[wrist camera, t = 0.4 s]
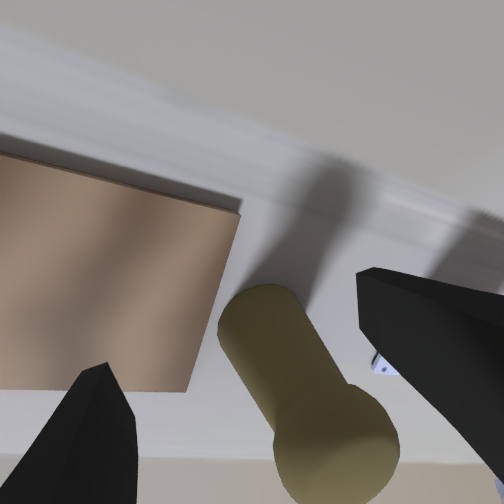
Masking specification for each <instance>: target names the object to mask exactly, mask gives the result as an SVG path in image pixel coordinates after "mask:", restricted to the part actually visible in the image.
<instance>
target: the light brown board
mask: <svg viewBox="0 0 504 504" xmlns="http://www.w3.org/2000/svg"><path fill="white" fill-rule="evenodd" d="M240 217H241V215H240V214H239V213H237V212H235V211H231V210H227V209H223V208H219V207H215V206H211V205H207V204H203V203H199V202H195V201H192V200H188V199H184V198H180V197H176V196H172V195H168V194H164V193H160V192H156V191H152V190H148V189H145V188H141V187H137V186H133V185H129V184H125V183H121V182H117V181H113V180H109V179H105V178H101V177H98V176H94V175H90V174H86V173H82V172H78V171H74V170H70V169H66V168H62V167H58V166H54V165H51V164H47V163H43V162H39V161H35V160H31V159H27V158H23V157H19V156H15V155H11V154H8V153H4V152H0V389H3V390H63V391H68V390H69V389H70V387H71V386H72V384H73V383H74V381H75V380H76V379H77V377H78V376H79V374H80V373H81V372H82V371H83V370H85V369H88V368H91V367H94V366H97V365H99V364H102V363H105V362H108V364H109V366H110V368H111V370H112V372H113V374H114V376H115V378H116V380H117V382H118V384H119V386H120V388H121V390H122V391H124V392H185V393H186V391H187V387H188V384H189V381H190V378H191V375H192V371H193V368H194V365H195V362H196V359H197V355H198V352H199V349H200V346H201V342H202V339H203V336H204V333H205V330H206V326H207V323H208V320H209V317H210V314H211V310H212V307H213V304H214V301H215V298H216V294H217V291H218V288H219V285H220V281H221V278H222V275H223V272H224V269H225V265H226V262H227V259H228V256H229V253H230V249H231V246H232V243H233V240H234V236H235V233H236V230H237V227H238V224H239V220H240Z"/></svg>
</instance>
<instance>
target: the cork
mask: <svg viewBox="0 0 504 504" xmlns="http://www.w3.org/2000/svg"><path fill="white" fill-rule="evenodd" d="M217 336H218V339H219V342H220V346H221V347H222V349H223V351H224V352H225V354H226V355H227V357H228V359H229V360H230V362H231V364H232V365H233V367H234V368H235V370H236V372H237V373H238V375H239V376H240V378H241V380H242V381H243V383H244V384H245V386H246V388H247V389H248V391H249V392H250V394H251V396H252V397H253V399H254V400H255V402H256V404H257V405H258V407H259V409H260V410H261V412H262V413H263V415H264V417H265V418H266V420H267V421H268V423H269V425H270V426H271V428H272V429H273V431H274V433H275V435H274V441H273V450H274V458H275V462H276V466H277V470H278V473H279V476H280V478H281V481H282V483H283V486H284V487H285V488H286V490H287V491H288V493H289V494H290V496H291V497H292V498H293V499H294V500H295V501H296V502H297V503H298V504H366V503H367V502H369V501H370V500H371V499H372V498H374V497H375V496H376V495H377V494H378V493H379V492H380V491H381V490H382V489H383V488H384V487H385V486H386V485H387V483H388V482H389V480H390V479H391V477H392V476H393V474H394V471H395V468H396V466H397V463H398V460H399V458H400V444H399V439H398V434H397V431H396V429H395V427H394V425H393V423H392V421H391V419H390V417H389V416H388V414H387V412H386V410H385V409H384V408H383V407H382V405H381V404H380V403H379V402H378V401H377V400H376V399H375V398H374V397H372V396H371V395H369V394H368V393H367V392H365V391H364V390H362V389H360V388H359V387H357V386H356V385H352V384H347V382H346V380H345V379H344V377H343V375H342V373H341V372H340V370H339V368H338V367H337V365H336V363H335V362H334V360H333V358H332V357H331V355H330V353H329V352H328V350H327V348H326V347H325V345H324V343H323V342H322V340H321V338H320V336H319V335H318V333H317V331H316V330H315V328H314V326H313V325H312V323H311V321H310V320H309V318H308V316H307V315H306V313H305V311H304V310H303V308H302V306H301V304H300V303H299V301H298V299H297V298H296V296H295V295H294V294H293V293H292V292H290V291H289V290H288V289H286V288H284V287H281V286H277V285H274V284H271V285H258V286H256V287H253V288H250V289H247V290H245V291H243V292H242V293H241V294H239V295H238V296H236V297H235V298H233V299H232V301H231V302H230V303H229V304H228V305H227V307H226V308H225V309H224V310H223V313H222V315H221V317H220V320H219V322H218V332H217Z"/></svg>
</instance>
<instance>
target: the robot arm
mask: <svg viewBox="0 0 504 504" xmlns="http://www.w3.org/2000/svg"><path fill="white" fill-rule="evenodd" d="M356 284H357V299H358V314H359V328H360V330H361V331H362V332H363V334H364V335H365V336H366V337H367V339H368V340H369V341H370V343H371V344H372V345H373V346H374V348H375V349H376V350H377V351H378V352H379V353H378V355H377V357H376V359H375V362H374V364H373V366H372V370H373V371H374V372H375V373H376V374H391V375H401V376H402V377H403V378H404V379H406V380H407V381H408V382H409V383H410V384H411V385H412V386H413V387H414V388H415V389H416V390H417V391H418V392H419V393H420V394H421V395H422V396H423V397H424V398H425V399H426V400H427V401H428V402H429V403H430V404H431V405H432V406H433V407H435V408H436V409H437V410H438V411H439V412H440V413H441V414H442V415H443V416H444V417H445V418H446V419H447V420H448V421H449V422H450V424H451V425H452V426H453V427H454V428H455V429H456V430H457V431H458V432H459V433H460V434H461V435H462V437H463V438H464V439H465V440H466V441H467V442H468V443H469V445H470V446H471V447H472V448H473V449H474V450H475V451H476V453H477V454H478V455H479V456H480V457H481V458H482V460H483V461H484V462H485V463H486V464H487V465H488V466H489V467H490V469H491V470H492V471H493V473H494V474H495V475H496V476H497V477H496V479H495V485H496V488H497V491H498V493H499V495H500V498H501V501H502V504H504V295H499V294H494V293H489V292H483V291H478V290H474V289H469V288H464V287H460V286H455V285H451V284H447V283H443V282H438V281H434V280H430V279H426V278H422V277H418V276H414V275H409V274H405V273H401V272H397V271H392V270H388V269H382V268H376V267H372V268H370V269H367V270H364V271H361V272H358V273H356ZM137 480H138V445H137V432H136V421H135V416H134V414H133V412H132V410H131V408H130V406H129V404H128V402H127V400H126V398H125V396H124V394H123V392H122V390H121V388H120V386H119V384H118V382H117V380H116V378H115V376H114V374H113V372H112V370H111V368H110V366H109V364H108V362H105V363H102V364H99V365H97V366H94V367H91V368H88V369H85V370H83V371H82V372H81V373H80V374H79V376H78V377H77V379H76V380H75V381H74V383H73V384H72V386H71V387H70V389H69V390H68V392H67V393H66V395H65V396H64V398H63V399H62V401H61V402H60V404H59V405H58V407H57V408H56V410H55V411H54V413H53V414H52V416H51V417H50V419H49V420H48V422H47V423H46V425H45V426H44V428H43V429H42V430H41V432H40V433H39V435H38V436H37V438H36V439H35V441H34V442H33V444H32V445H31V446H30V448H29V449H28V451H27V452H26V454H25V455H24V456H23V458H22V459H21V460H20V462H19V463H18V465H17V466H16V467H15V469H14V470H13V471H12V473H11V474H10V475H9V477H8V478H7V479H6V481H5V482H4V483H3V485H2V486H1V487H0V504H136V502H137Z"/></svg>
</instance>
